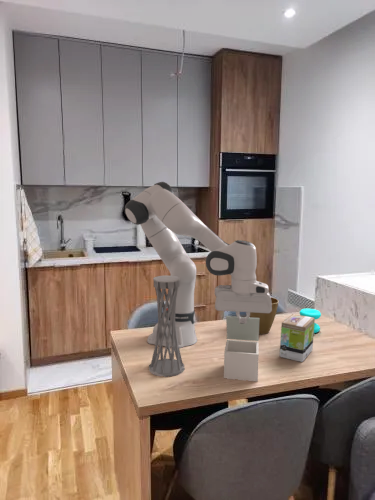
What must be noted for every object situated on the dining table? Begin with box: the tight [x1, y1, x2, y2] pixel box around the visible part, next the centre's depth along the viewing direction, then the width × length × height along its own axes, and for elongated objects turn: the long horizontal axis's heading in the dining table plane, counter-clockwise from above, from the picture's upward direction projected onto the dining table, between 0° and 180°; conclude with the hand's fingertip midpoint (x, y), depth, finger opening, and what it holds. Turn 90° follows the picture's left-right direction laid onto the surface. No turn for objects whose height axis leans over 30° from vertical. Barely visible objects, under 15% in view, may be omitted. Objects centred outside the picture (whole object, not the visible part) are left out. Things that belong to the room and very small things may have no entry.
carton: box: [223, 339, 260, 382], centre depth 141 cm, size 12×12×10 cm
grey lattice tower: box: [148, 275, 185, 378], centre depth 143 cm, size 14×13×35 cm
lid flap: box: [225, 315, 260, 342], centre depth 143 cm, size 12×12×1 cm
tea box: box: [279, 313, 316, 363], centre depth 159 cm, size 15×10×15 cm, turn 148°
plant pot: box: [249, 296, 279, 335], centre depth 184 cm, size 15×15×16 cm
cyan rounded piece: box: [299, 308, 322, 334], centre depth 187 cm, size 10×10×10 cm
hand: (242, 323), depth 139 cm, fingers closed, pressing on lid flap
